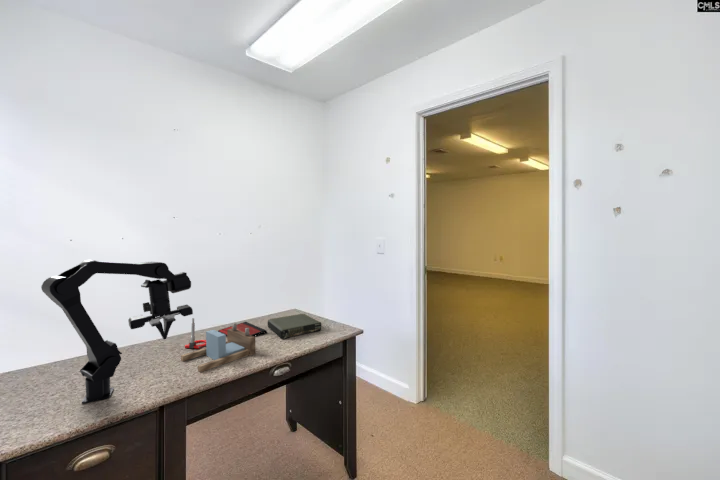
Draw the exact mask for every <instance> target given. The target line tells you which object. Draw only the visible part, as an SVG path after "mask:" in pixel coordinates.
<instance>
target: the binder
mask: <svg viewBox="0 0 720 480" xmlns="http://www.w3.org/2000/svg"><path fill="white" fill-rule="evenodd" d="M236 324H237V330H239V331H241V332H244V333H245V328H249V335H252V336H254V337H255V335H257V336H256V337H258V334H259V333H261V334H263V333H262V332H265V333H264V334H267V333H268V331H267V330H266V329H264V328H261V327H259V326H257V325H254V324H252V323H250V322H249V321H243V322H241V323H236ZM231 328H233V325H230V326H228V327H224V328H221V329H219V330H217V331H218V332H220V333H222V334H225V335H226V337H227V329H231ZM259 335H260V334H259ZM256 337H255V338H256Z"/></svg>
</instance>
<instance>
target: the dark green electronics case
mask: <svg viewBox="0 0 720 480" xmlns="http://www.w3.org/2000/svg"><path fill="white" fill-rule="evenodd" d="M267 328H268V329H269V330H271V332H273V333H274V334H275V335H276V334H277V335H276V336H277V337H278V338H279V339H281V340H285V339H286V338H292V337H293V336H294V337H295V336H300V335H306V334H309V333H313V332H318V331H320V330H321V331H322V322H321V321H319V320H317V319H315V318H313V317H312V316H309V315H308V314H306V313H298V314H291V315H286V316H279V317H274V318H270V319H268V320H267Z"/></svg>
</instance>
